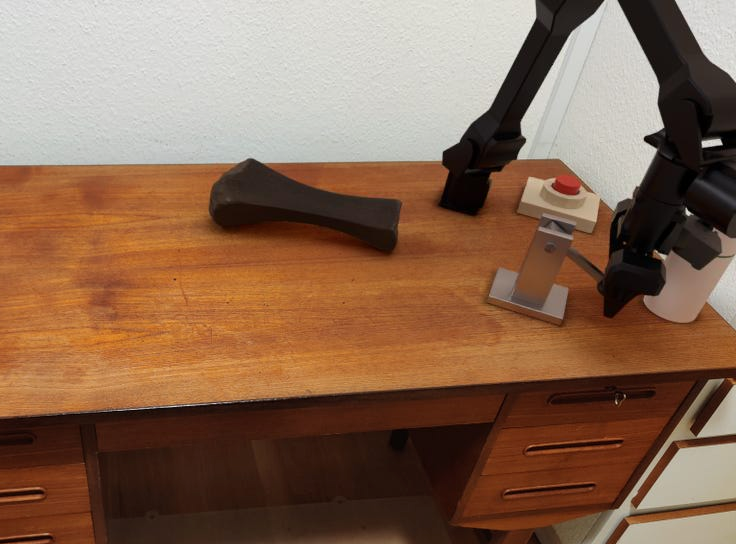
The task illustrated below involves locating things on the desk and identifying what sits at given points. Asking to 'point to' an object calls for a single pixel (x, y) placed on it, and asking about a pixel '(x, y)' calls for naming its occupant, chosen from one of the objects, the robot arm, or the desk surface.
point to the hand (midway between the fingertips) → (609, 298)
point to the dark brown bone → (300, 205)
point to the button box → (559, 203)
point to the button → (566, 185)
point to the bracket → (537, 275)
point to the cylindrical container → (689, 284)
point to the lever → (582, 261)
